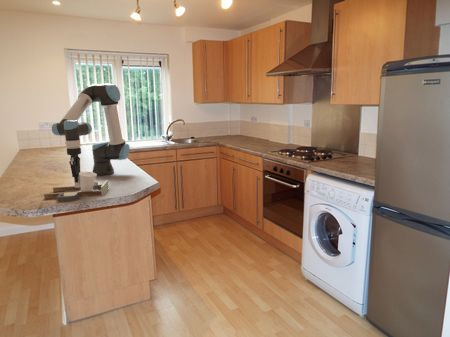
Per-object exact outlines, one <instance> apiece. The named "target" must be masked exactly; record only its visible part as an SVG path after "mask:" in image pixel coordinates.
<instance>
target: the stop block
mask: <svg viewBox="0 0 450 337" xmlns="http://www.w3.org/2000/svg"><path fill="white" fill-rule="evenodd" d="M101 185H102V186H101V189H100V191H101V195H100V196H104V195H105V194H106V193H107V191H108V190H109V189H110V186H109V180H108V179H107V180H105V181H104V182H103V183H102V184H101ZM108 188H109V189H108Z"/></svg>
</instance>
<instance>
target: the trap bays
mask: <svg viewBox="0 0 450 337" xmlns="http://www.w3.org/2000/svg"><path fill="white" fill-rule="evenodd" d="M94 185H99V182H97V181H95V182H94ZM80 192H81V187H80V190H79V191H78V192H76V193H75V194H74V195H64V196H63V193H64V192H61V193H62V194H59V195H58V196H57V198H56V202H58V203H59V202H71V201H78V200H79V199H80V198H81V197H80Z"/></svg>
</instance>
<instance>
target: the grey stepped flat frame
mask: <svg viewBox="0 0 450 337" xmlns="http://www.w3.org/2000/svg"><path fill="white" fill-rule="evenodd" d="M102 185H103V184H98V185H94V186H93V190H92V191H85V192H81V190H80V188H75V185H74V186H58V187H57V186H56V187H52V191H53V193H44V194H43V198H44V200H48V199H57V196H58V195H59V194H62V193H63V196H65V195H64V192H75V191H79V192H80V198H81V197H94V196H96V197H97V196H102V195H101V186H102Z"/></svg>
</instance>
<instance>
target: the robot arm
mask: <svg viewBox="0 0 450 337" xmlns="http://www.w3.org/2000/svg"><path fill="white" fill-rule="evenodd" d="M120 100H121V92H120V88H119V87H118V86H117V85H116V84H114V83H100V84H99V83H98V84H94V83H93V84H91V85H88V86H86V88H84V89H83V90H81V91H80V93H79V94H78V95H77V99H76V101H75V102H74V103H73V105H72V106H71V107H70V109H69V110H68V111H67V112H66V114H65V115H64V116H63V118H62V119H61V120H60V122H54V123H53V124H52V125H51V131H52V133H53V135H55V136H61V137H64V138H65V143H64V144H65V147H66V154H67V156H70V158H69V159H70V160H69V161H68V162H69V165H70V171H71V177H72V178H73V180H74V186H75V188H80V178H79V173H80V172H81V157H80V156H79V155H81V154H82V148H81V146H82V145H81V138H80V137H81V136H87V135H90V134H92V132H93V128H92V126H91V124H90V123H88V122H86V121H85V122H79V119H80V118H81V117H82V115H83V114H84V113H85V111H86V110H87V108H88V107H89V106H92V104H93V103H96V102H97V103H98V102H99V103H100V106H101V107H103V111H104V115H105V120H106V121H105V122H106V126H107V127H106V128H107V131H108V137H109V141H102V142H96V143H93V144H92V147H91V148H92V150H91V151H92V157H93V167H92V171H91V172H93V173H96V174H97V175H96V177H97V176H98V177H99V176H100V177H101V176H108V175H112V174H114V173H115V169H114V167H113V165H112V162H111V161H113V160H115V161H116V160H117V161H124V160H127V159H128V158H129V155H130V151H131V149H130V148H131V147H130V144H128V143H127V142H126V139H123V134H122V133H123V132H122V128H121V124H120V117H119V112H118V105H119V102H120Z"/></svg>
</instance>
